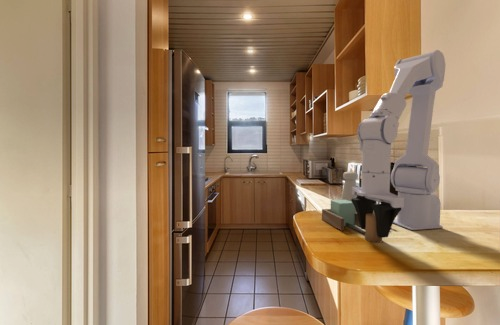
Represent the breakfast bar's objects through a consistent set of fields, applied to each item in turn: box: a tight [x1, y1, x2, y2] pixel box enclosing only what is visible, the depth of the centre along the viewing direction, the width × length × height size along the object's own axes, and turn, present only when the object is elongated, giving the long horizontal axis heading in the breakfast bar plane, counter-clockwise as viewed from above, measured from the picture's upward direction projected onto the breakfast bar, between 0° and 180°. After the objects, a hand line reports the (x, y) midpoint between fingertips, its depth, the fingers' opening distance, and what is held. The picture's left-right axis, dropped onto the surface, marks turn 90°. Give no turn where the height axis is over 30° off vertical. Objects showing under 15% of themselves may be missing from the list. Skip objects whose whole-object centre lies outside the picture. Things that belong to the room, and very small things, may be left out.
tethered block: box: [330, 199, 383, 243], centre depth 66 cm, size 4×17×6 cm, turn 12°
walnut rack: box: [321, 208, 360, 231], centre depth 72 cm, size 14×10×3 cm
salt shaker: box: [340, 171, 359, 202], centre depth 82 cm, size 6×6×13 cm
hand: (373, 232), depth 59 cm, fingers open, 5 cm apart
